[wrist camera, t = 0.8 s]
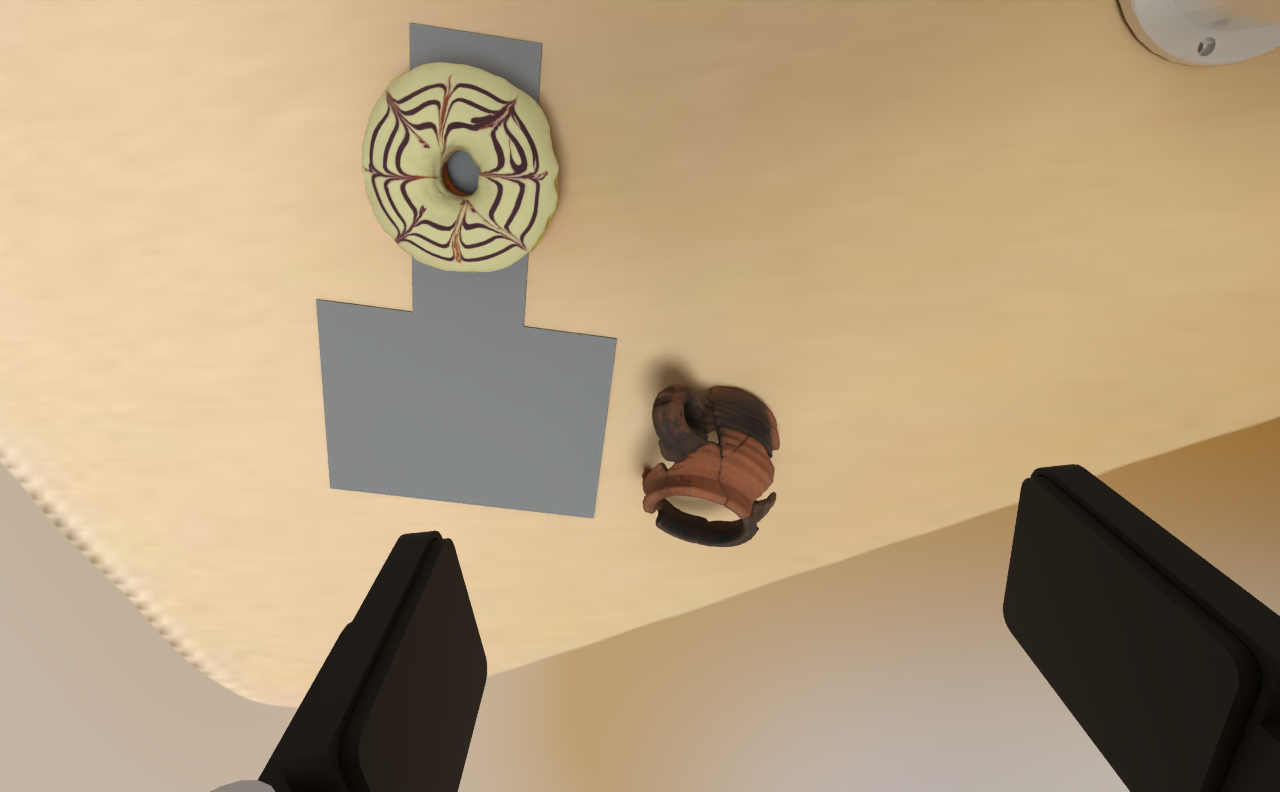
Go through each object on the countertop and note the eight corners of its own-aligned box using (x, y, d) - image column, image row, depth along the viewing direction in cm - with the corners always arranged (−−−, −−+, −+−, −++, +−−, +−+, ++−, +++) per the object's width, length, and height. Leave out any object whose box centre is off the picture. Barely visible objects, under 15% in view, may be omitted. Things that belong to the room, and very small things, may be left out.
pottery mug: (807, 445, 44) (796, 551, 39) (694, 463, 50) (672, 558, 45) (728, 330, 38) (702, 439, 33) (607, 364, 43) (569, 463, 38)
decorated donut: (562, 72, 34) (554, 67, 31) (563, 267, 38) (555, 282, 35) (370, 61, 34) (340, 55, 30) (392, 259, 38) (368, 273, 35)
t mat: (295, 5, 33) (293, 4, 33) (652, 60, 34) (652, 60, 34) (330, 487, 45) (330, 488, 45) (593, 517, 46) (593, 518, 46)
